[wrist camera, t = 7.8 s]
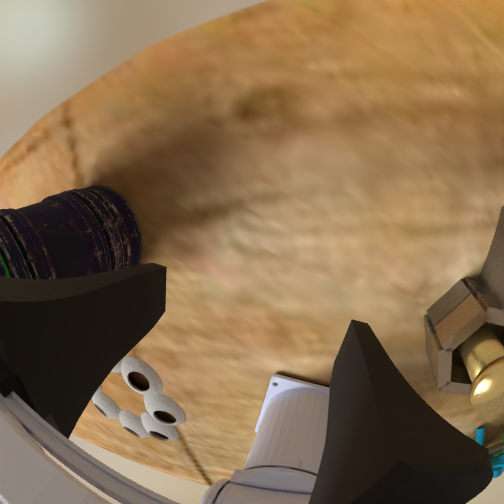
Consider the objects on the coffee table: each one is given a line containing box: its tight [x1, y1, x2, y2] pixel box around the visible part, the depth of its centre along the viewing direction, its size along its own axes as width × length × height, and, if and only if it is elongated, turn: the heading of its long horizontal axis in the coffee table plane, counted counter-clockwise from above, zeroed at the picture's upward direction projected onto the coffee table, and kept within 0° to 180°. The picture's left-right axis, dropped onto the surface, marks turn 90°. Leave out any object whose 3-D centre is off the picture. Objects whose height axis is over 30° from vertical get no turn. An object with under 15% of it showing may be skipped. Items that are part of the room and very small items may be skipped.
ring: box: [92, 356, 185, 441], centre depth 33 cm, size 20×20×2 cm
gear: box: [476, 427, 504, 478], centre depth 19 cm, size 11×6×10 cm
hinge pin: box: [457, 322, 504, 412], centre depth 14 cm, size 4×4×8 cm
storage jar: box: [0, 185, 142, 279], centre depth 18 cm, size 10×10×15 cm
